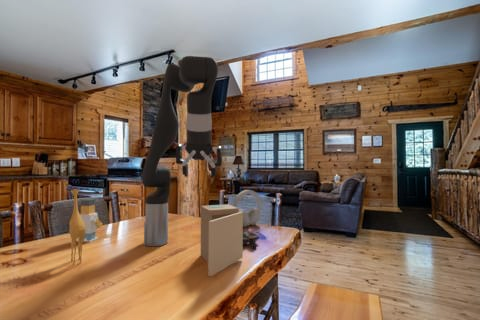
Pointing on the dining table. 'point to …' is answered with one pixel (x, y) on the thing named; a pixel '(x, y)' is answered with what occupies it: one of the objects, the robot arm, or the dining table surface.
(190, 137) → the robot arm
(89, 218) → the character figure
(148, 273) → the dining table surface
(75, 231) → the giraffe
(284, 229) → the dining table surface
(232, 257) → the flap
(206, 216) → the carton
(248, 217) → the headphones
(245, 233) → the figurine
